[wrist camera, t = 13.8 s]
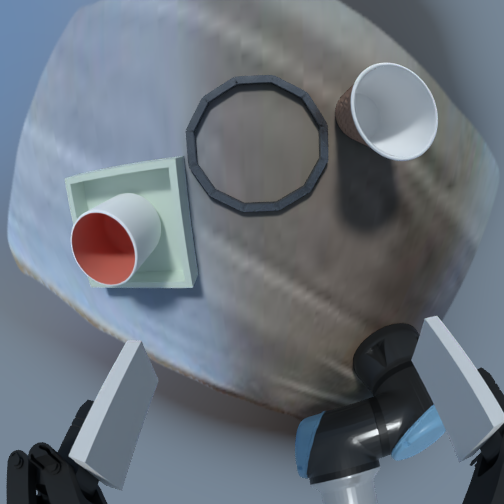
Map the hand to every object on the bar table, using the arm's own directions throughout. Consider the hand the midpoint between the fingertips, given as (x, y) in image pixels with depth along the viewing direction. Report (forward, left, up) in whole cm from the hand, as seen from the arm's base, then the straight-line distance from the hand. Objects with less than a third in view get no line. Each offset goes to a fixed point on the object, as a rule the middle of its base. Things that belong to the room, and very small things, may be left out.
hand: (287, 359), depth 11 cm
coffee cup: (+12, -13, -29) cm, 34 cm away
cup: (-2, +20, -28) cm, 35 cm away
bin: (-2, +20, -29) cm, 35 cm away
